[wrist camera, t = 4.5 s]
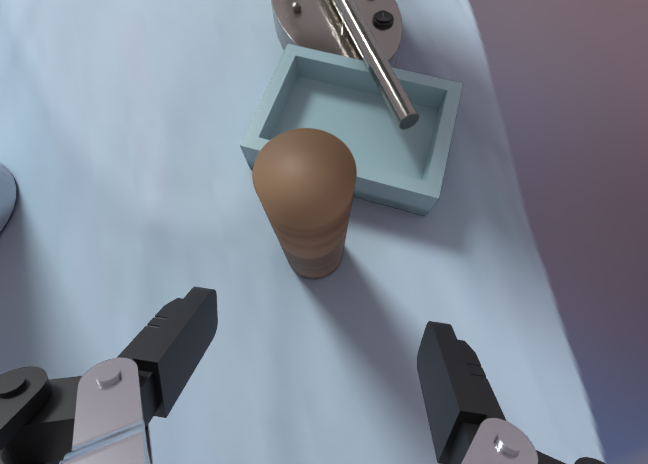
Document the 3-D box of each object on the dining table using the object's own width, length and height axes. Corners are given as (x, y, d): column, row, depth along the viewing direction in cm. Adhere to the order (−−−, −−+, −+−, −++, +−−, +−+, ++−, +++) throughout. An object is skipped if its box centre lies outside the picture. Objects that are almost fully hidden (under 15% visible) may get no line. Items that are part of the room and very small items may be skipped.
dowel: (333, 286, 21) (339, 232, 11) (278, 269, 22) (236, 202, 12) (349, 234, 23) (368, 142, 12) (297, 218, 23) (274, 117, 13)
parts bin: (425, 216, 23) (438, 198, 20) (249, 167, 25) (239, 145, 22) (448, 111, 26) (463, 83, 23) (291, 74, 28) (287, 43, 25)
